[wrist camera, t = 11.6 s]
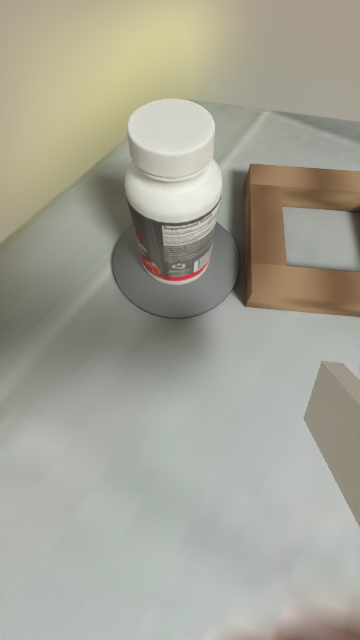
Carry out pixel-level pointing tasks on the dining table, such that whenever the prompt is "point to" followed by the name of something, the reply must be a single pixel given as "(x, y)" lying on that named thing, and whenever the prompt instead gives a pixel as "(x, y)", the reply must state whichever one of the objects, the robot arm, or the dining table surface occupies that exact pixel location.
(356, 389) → the robot arm
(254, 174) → the pocket
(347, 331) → the dining table surface
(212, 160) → the pill bottle
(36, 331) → the dining table surface
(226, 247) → the coaster
